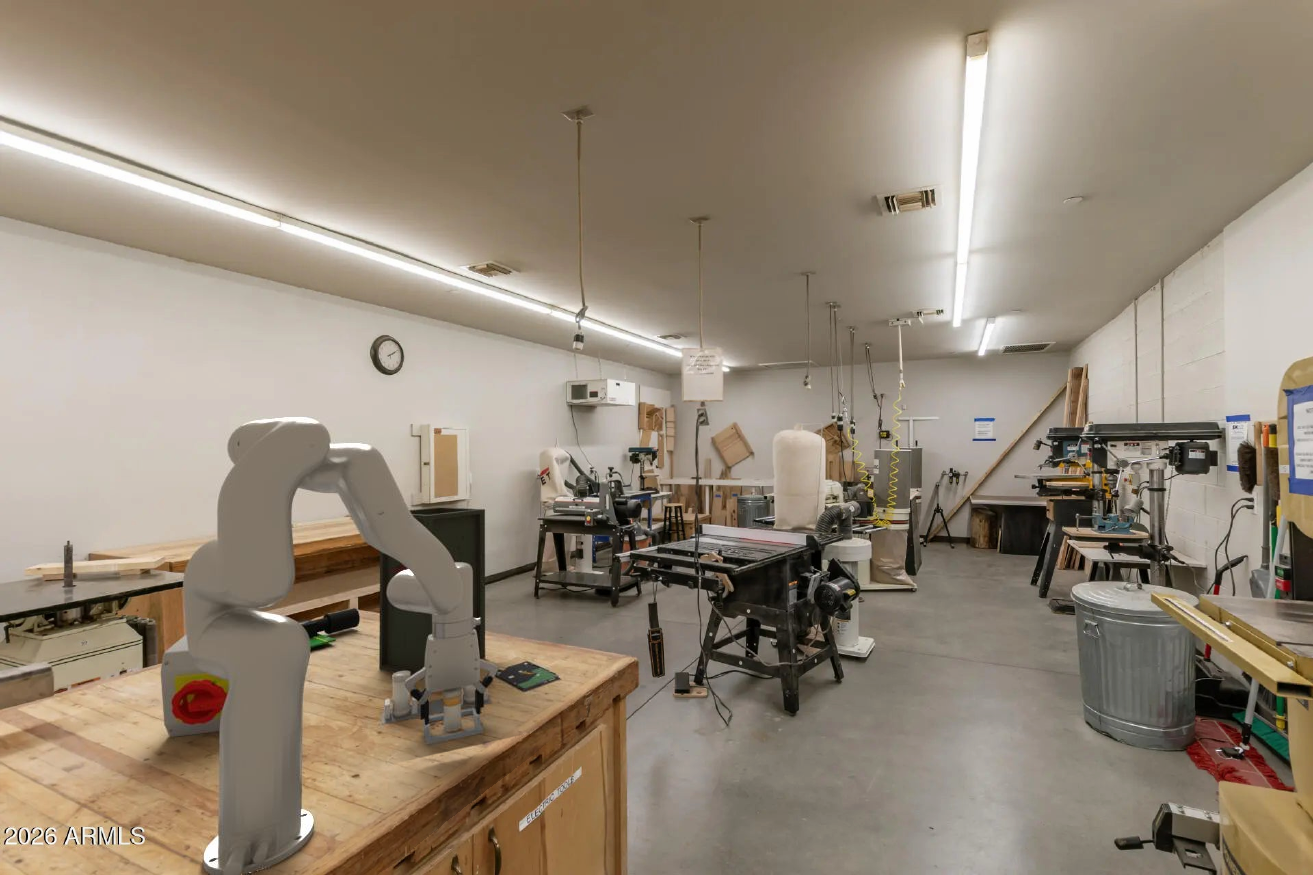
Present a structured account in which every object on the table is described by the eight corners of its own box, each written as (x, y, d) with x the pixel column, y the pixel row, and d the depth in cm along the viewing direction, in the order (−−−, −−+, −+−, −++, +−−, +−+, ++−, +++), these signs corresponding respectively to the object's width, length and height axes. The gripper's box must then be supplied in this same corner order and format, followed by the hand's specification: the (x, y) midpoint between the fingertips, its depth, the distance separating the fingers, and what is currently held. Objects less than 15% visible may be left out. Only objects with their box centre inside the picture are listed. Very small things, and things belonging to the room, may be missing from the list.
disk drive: (490, 683, 134) (524, 700, 124) (490, 671, 134) (523, 687, 124) (527, 671, 141) (562, 686, 131) (527, 660, 142) (561, 674, 131)
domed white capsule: (410, 714, 113) (410, 675, 113) (391, 718, 112) (392, 678, 112) (410, 708, 116) (410, 669, 117) (392, 711, 115) (392, 672, 115)
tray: (482, 740, 105) (482, 728, 105) (426, 752, 101) (426, 740, 101) (476, 718, 114) (476, 707, 115) (423, 729, 110) (423, 717, 110)
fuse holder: (491, 709, 118) (491, 689, 118) (381, 731, 109) (381, 709, 109) (486, 697, 125) (486, 677, 125) (382, 717, 116) (382, 696, 116)
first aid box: (379, 668, 143) (380, 512, 144) (439, 647, 159) (439, 507, 160) (426, 682, 134) (427, 515, 135) (485, 657, 150) (484, 509, 151)
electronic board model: (263, 639, 147) (239, 630, 155) (262, 665, 146) (239, 655, 155) (373, 612, 171) (347, 605, 180) (373, 634, 171) (347, 627, 180)
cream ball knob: (481, 701, 119) (481, 663, 119) (465, 704, 118) (465, 666, 118) (479, 695, 122) (479, 658, 122) (463, 698, 121) (463, 661, 121)
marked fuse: (460, 725, 110) (460, 684, 110) (462, 733, 107) (462, 691, 107) (442, 729, 109) (442, 688, 109) (443, 737, 106) (443, 694, 106)
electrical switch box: (149, 763, 103) (141, 661, 101) (192, 716, 117) (186, 625, 115) (241, 751, 107) (235, 652, 105) (272, 707, 121) (268, 619, 119)
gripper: (495, 616, 116) (495, 700, 115) (403, 628, 108) (403, 718, 108) (501, 626, 109) (501, 715, 108) (404, 639, 102) (403, 735, 101)
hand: (452, 716), depth 108 cm, fingers open, 9 cm apart
